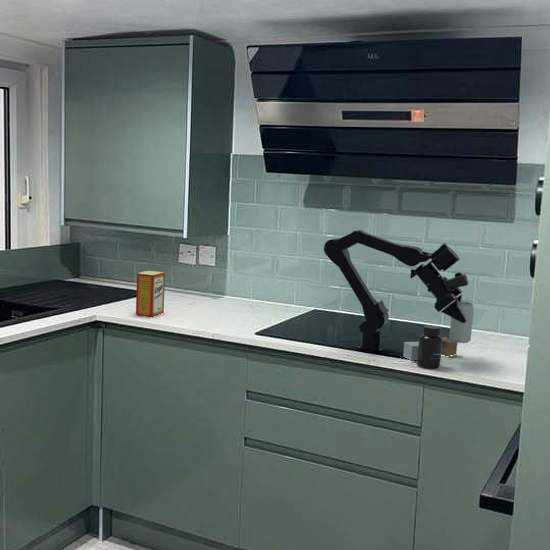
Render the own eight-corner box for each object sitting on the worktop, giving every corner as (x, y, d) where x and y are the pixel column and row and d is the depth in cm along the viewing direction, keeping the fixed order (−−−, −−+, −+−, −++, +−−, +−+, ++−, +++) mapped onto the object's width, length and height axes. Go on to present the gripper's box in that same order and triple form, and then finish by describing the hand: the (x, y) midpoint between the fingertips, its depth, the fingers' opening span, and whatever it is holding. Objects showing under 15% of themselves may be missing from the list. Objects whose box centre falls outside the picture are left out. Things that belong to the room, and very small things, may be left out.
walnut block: (433, 354, 230) (435, 339, 230) (442, 352, 234) (444, 337, 233) (447, 357, 227) (448, 342, 226) (456, 355, 230) (457, 340, 229)
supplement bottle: (437, 370, 210) (441, 330, 208) (414, 367, 213) (417, 327, 211) (441, 365, 217) (445, 326, 215) (418, 362, 219) (422, 323, 217)
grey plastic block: (402, 357, 224) (404, 342, 223) (417, 357, 225) (418, 341, 224) (410, 362, 219) (412, 346, 218) (425, 361, 220) (426, 345, 220)
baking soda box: (148, 311, 273) (149, 269, 271) (163, 313, 271) (165, 271, 269) (135, 315, 265) (136, 272, 262) (151, 317, 263) (153, 274, 260)
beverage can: (469, 344, 216) (473, 305, 215) (447, 341, 218) (451, 302, 217) (471, 340, 222) (475, 302, 221) (449, 337, 224) (453, 299, 223)
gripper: (449, 267, 210) (484, 309, 207) (458, 261, 227) (490, 300, 225) (420, 290, 214) (454, 332, 211) (430, 283, 231) (462, 321, 229)
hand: (466, 320), depth 219 cm, fingers closed on beverage can, 6 cm apart
